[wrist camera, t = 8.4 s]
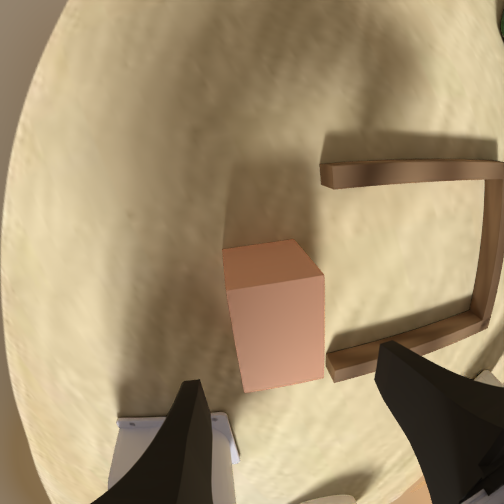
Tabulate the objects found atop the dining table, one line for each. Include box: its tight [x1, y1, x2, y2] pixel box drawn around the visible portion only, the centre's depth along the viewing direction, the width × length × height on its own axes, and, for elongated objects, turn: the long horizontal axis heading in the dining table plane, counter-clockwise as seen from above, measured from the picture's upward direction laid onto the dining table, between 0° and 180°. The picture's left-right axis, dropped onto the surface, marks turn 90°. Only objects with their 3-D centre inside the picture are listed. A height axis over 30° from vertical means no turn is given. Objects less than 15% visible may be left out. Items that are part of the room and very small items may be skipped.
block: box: [222, 239, 325, 393], centre depth 16 cm, size 4×6×6 cm
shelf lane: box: [320, 159, 504, 383], centre depth 19 cm, size 16×14×2 cm
